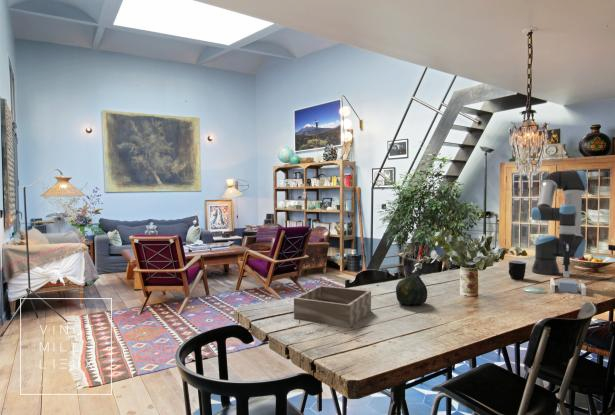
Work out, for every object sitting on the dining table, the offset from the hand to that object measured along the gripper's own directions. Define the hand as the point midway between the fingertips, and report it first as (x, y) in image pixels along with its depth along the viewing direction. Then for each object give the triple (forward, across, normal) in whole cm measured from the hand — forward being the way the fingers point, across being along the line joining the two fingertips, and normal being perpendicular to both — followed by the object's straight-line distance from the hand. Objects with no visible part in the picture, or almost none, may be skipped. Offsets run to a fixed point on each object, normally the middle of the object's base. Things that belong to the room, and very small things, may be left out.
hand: (566, 276), depth 232 cm
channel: (+6, +8, 0) cm, 10 cm away
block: (+6, +9, 0) cm, 11 cm away
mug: (+6, -9, -25) cm, 27 cm away
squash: (+7, +68, -67) cm, 96 cm away
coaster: (+6, +16, -15) cm, 23 cm away
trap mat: (+6, +2, 0) cm, 6 cm away
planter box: (+8, +100, -93) cm, 137 cm away
